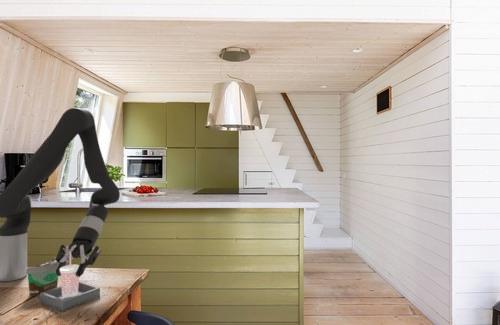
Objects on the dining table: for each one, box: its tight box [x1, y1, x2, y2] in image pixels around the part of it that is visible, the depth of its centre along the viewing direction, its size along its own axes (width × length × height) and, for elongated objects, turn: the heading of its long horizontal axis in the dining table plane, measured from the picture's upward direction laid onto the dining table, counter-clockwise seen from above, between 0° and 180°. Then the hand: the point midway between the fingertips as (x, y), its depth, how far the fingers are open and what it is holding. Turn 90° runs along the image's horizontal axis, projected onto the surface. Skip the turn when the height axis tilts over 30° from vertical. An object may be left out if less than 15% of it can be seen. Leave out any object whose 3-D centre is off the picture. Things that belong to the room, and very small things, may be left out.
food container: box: [26, 256, 59, 297], centre depth 112 cm, size 12×6×10 cm, turn 168°
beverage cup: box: [60, 252, 80, 297], centre depth 105 cm, size 6×6×14 cm
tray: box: [39, 280, 101, 312], centre depth 105 cm, size 13×13×3 cm
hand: (68, 275), depth 104 cm, fingers closed on beverage cup, 6 cm apart
